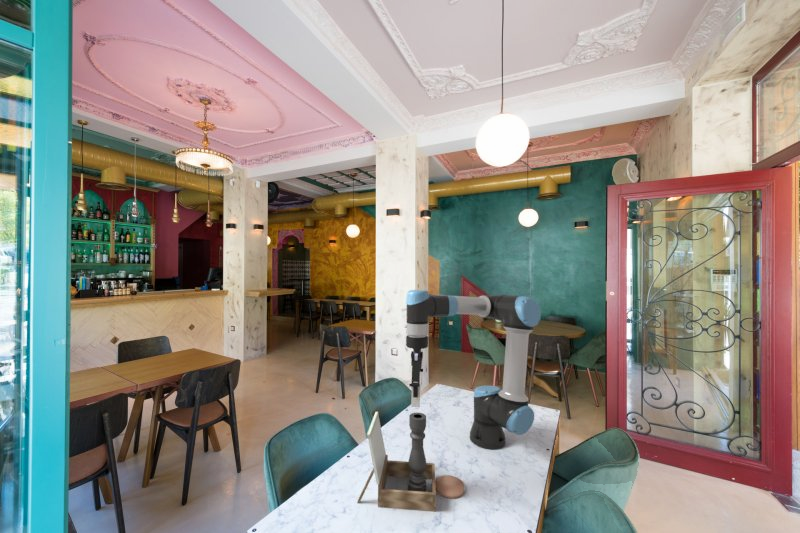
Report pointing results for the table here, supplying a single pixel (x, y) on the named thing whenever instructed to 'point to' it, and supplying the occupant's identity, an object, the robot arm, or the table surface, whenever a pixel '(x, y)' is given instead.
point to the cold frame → (403, 497)
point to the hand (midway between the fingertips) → (416, 398)
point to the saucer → (449, 486)
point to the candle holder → (417, 453)
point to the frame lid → (376, 446)
